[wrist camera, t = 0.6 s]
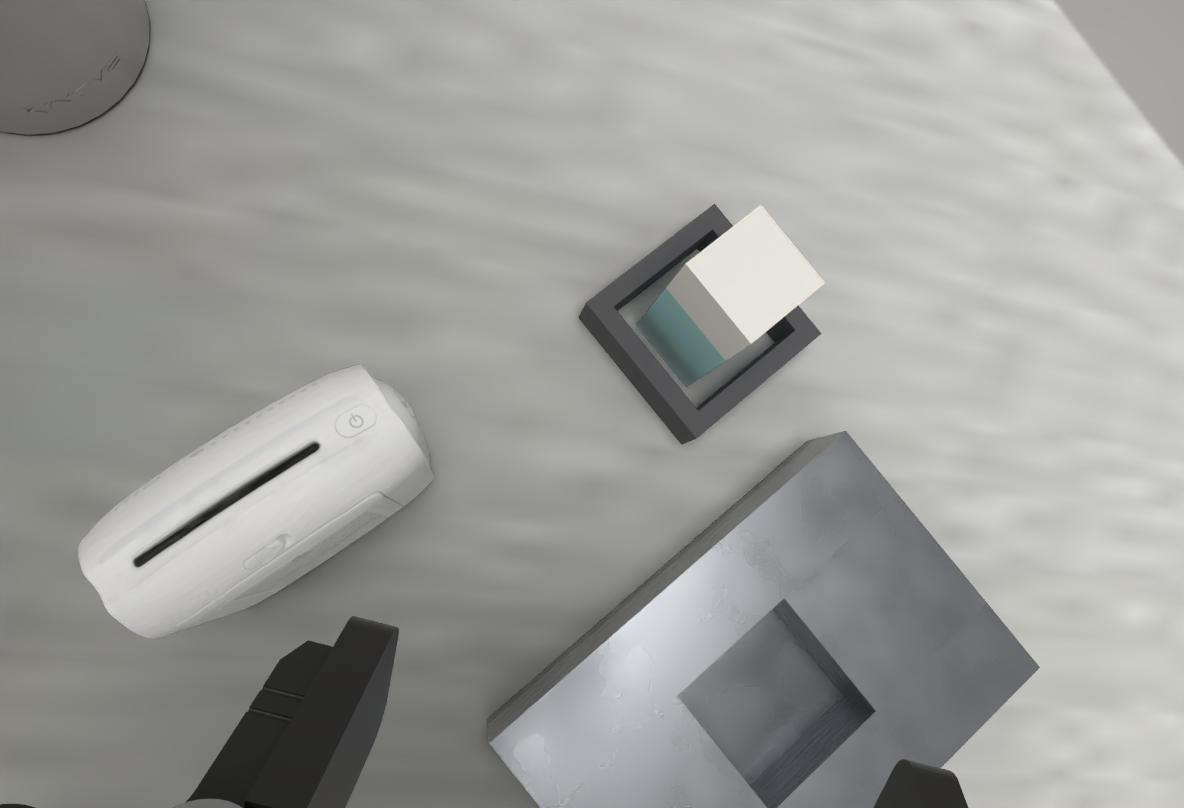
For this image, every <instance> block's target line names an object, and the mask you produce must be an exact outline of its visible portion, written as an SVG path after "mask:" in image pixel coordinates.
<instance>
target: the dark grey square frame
mask: <svg viewBox="0 0 1184 808" xmlns="http://www.w3.org/2000/svg"><path fill="white" fill-rule="evenodd" d="M732 227H733V225H732V224H731V223H730V222H729V221H728V219H727V218H726V217H725V216H724V215H723V213H722V212H721V211H720V210H719V208H718V207H717V206H716V205H715V204H714V205H712V206H711V207H710V208H709V209H707V210H706V211H705V212H703V213H702V214H701V215H699V216H698V217H697V218H696V219H694V220H693V221H692V222H690V223H689V224H688V225H687V226H685V227H684V228H683V229H681V230H680V231H679V232H677V233H676V234H675V235H674V236H672V237H671V238H670V239H668V240H667V241H666V242H664V243H663V244H662V245H661V246H659V247H658V248H657V249H655V250H654V251H653V252H652V253H650V254H649V255H648V256H646V257H645V258H644V259H642V260H641V261H640V262H639V263H637V264H636V265H635V266H633V267H632V268H631V269H630V270H628V271H627V272H626V273H624V274H623V275H622V276H620V277H619V278H618V279H617V280H615V281H614V282H613V283H611V284H610V285H609V286H607V287H606V288H605V289H604V290H602V291H601V292H600V293H598V294H597V295H596V296H595V297H593V298H592V299H591V300H589V301H588V302H587V303H586V304H585V306H584V308H583V310H582V312H581V314H580V316H579V319H580V320H581V321H582V322H583V323H584V325H585V326H586V327H587V328H588V330H589V331H590V332H591V333H592V335H593V336H594V337H595V338H596V339H597V341H598V342H599V343H600V344H601V346H602V347H603V348H604V349H605V351H606V352H607V353H608V354H609V355H610V357H611V358H612V359H613V360H614V362H615V363H616V364H617V365H618V367H619V368H620V369H621V370H622V371H623V373H624V374H625V375H626V376H627V378H628V379H629V380H630V381H631V383H632V384H633V385H634V386H635V387H636V389H637V390H638V391H639V392H640V394H641V395H642V396H643V397H644V398H645V400H646V401H647V402H648V403H649V405H650V406H651V407H652V408H653V410H654V411H655V412H656V413H657V414H658V416H659V417H660V418H661V419H662V421H663V422H664V423H665V424H666V426H667V427H668V428H669V429H670V430H671V432H672V433H673V434H674V435H675V437H676V438H677V439H678V440H679V442H680V443H681V444H684V443H686V442H689V441H691V440H694V439H696V438H698V437H699V436H700V435H701V434H702V433H703V432H705V431H706V430H707V429H708V428H709V427H711V426H712V425H713V424H714V423H715V422H717V421H718V420H719V419H720V418H721V417H723V416H724V415H725V414H726V413H727V412H729V411H730V410H731V409H732V408H733V407H735V406H736V405H737V404H738V403H739V402H740V401H742V400H743V399H744V398H745V397H746V396H748V395H749V394H750V393H751V392H752V391H754V390H755V389H756V388H757V387H758V386H760V385H761V384H762V383H763V382H764V381H766V380H767V379H768V378H769V377H770V376H771V375H773V374H774V373H775V372H776V371H777V370H779V369H780V368H781V367H782V366H783V365H785V364H786V363H787V362H788V361H789V360H791V359H792V358H793V357H794V356H795V355H797V354H798V353H799V352H800V351H801V350H802V349H804V348H805V347H806V346H807V345H808V344H810V343H811V342H812V341H813V340H814V339H816V338H817V337H818V336H819V335H820V334H821V333H820V331H819V330H818V329H817V328H816V326H815V325H814V324H813V323H812V322H811V320H810V319H809V318H808V317H807V316H806V314H805V313H804V312H803V311H802V309H801V308H800V307H799V306H797V307H795V308H794V309H793V310H792V311H791V312H789V313H788V314H787V315H786V316H785V317H783V318H782V319H781V320H780V321H778V322H777V323H776V324H775V325H774V326H772V327H771V328H770V329H769V330H768V331H766V332H767V333H768V335H769V336H770V337H771V338H772V340H773V341H774V342H775V343H774V344H773V345H772V346H771V347H770V348H768V349H767V350H766V351H765V352H764V353H762V354H761V355H760V356H759V357H758V358H756V359H755V360H754V361H753V362H752V363H750V364H749V365H748V366H747V367H746V368H744V369H743V370H742V371H741V372H740V373H738V374H737V375H736V376H735V377H733V378H732V379H731V380H730V381H729V382H727V383H726V384H725V385H724V386H723V387H721V388H720V389H719V390H718V391H717V392H715V393H714V394H713V395H712V396H711V397H709V398H708V399H707V400H706V401H705V402H703V403H702V404H701V405H700V406H699V407H697V408H696V407H695V406H694V405H693V404H692V402H691V401H690V400H689V399H688V397H687V396H686V395H685V394H684V392H683V391H682V390H681V389H680V388H679V386H678V385H677V384H676V383H675V381H674V380H673V379H672V378H671V377H670V375H669V374H668V373H667V372H666V370H665V369H664V368H663V367H662V365H661V364H660V363H659V362H658V361H657V359H656V358H655V357H654V356H653V354H652V353H651V352H650V351H649V350H648V348H647V347H646V346H645V345H644V343H643V342H642V341H641V340H640V338H639V337H638V336H637V335H636V334H635V332H634V331H633V330H632V329H631V327H630V326H629V325H628V324H627V323H626V321H625V320H624V319H623V318H622V316H621V315H620V314H619V313H618V310H619V309H620V308H622V307H623V306H624V305H625V304H627V303H628V302H629V301H630V300H632V299H633V298H634V297H636V296H637V295H638V294H639V293H641V292H642V291H643V290H645V289H646V288H647V287H648V286H650V285H651V284H652V283H654V282H655V281H656V280H657V279H659V278H660V277H661V276H662V275H664V274H665V273H666V272H668V271H669V270H670V269H671V268H673V267H674V266H675V265H677V264H678V263H679V262H680V261H682V260H683V259H684V258H686V257H687V256H688V255H689V254H691V253H692V252H693V251H694V250H696V249H697V248H698V249H699V250H700V252H701V251H702V250H704V249H705V248H706V247H707V246H709V245H710V244H711V243H713V242H714V241H715V240H716V239H718V238H719V237H720V236H721V235H723V234H724V233H725V232H727V231H728V230H729V229H730V228H732Z"/></svg>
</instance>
